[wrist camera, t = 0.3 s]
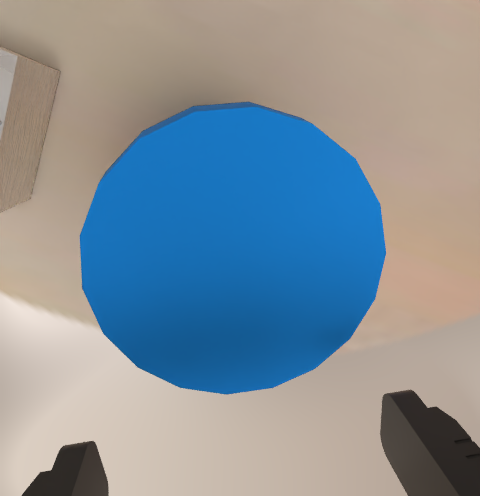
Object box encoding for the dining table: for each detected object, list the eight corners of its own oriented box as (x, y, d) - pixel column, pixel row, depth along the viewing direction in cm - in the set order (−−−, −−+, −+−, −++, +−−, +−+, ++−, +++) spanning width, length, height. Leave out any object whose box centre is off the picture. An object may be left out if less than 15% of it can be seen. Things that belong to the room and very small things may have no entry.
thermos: (212, 245, 38) (236, 441, 15) (132, 173, 35) (1, 280, 12) (287, 171, 37) (447, 261, 13) (210, 88, 33) (243, 10, 10)
